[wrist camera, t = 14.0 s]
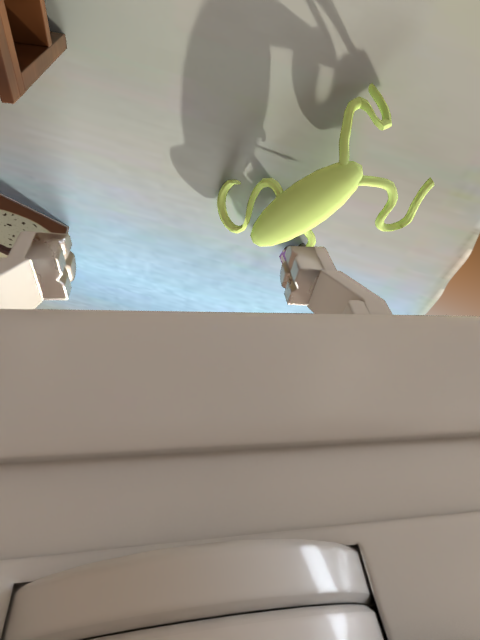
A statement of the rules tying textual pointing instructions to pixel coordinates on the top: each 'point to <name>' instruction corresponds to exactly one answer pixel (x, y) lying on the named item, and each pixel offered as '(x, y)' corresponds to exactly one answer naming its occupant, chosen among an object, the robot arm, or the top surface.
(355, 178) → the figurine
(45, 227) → the food container
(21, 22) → the stand
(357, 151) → the top surface
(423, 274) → the top surface
